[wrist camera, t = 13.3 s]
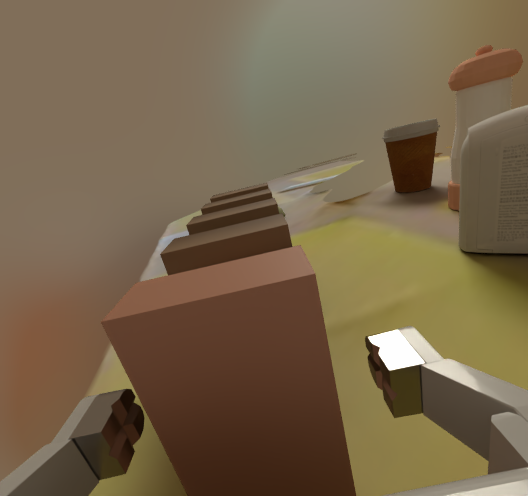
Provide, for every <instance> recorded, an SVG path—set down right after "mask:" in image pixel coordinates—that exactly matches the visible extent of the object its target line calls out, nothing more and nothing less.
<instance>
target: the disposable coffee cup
mask: <svg viewBox="0 0 528 496" xmlns="http://www.w3.org/2000/svg"><path fill="white" fill-rule="evenodd" d="M438 127H440V125H438V122H437V119H432V120H426V121H422V122H417V123H413V124H408V125H404V126H400V127H396V128H392V129H388V130H385V132H384V137H383V139H384V142H385V143H386V148H387V153H388V158H389V162H390V167H391V172H392V176H393V181H394V186H395V191H396V192H403V193H404V192H416V191H421V190H425V189H427V188H430V187H431V181H432V173H433V163H434V155H435V146H436V136H437V131H438Z"/></svg>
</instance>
